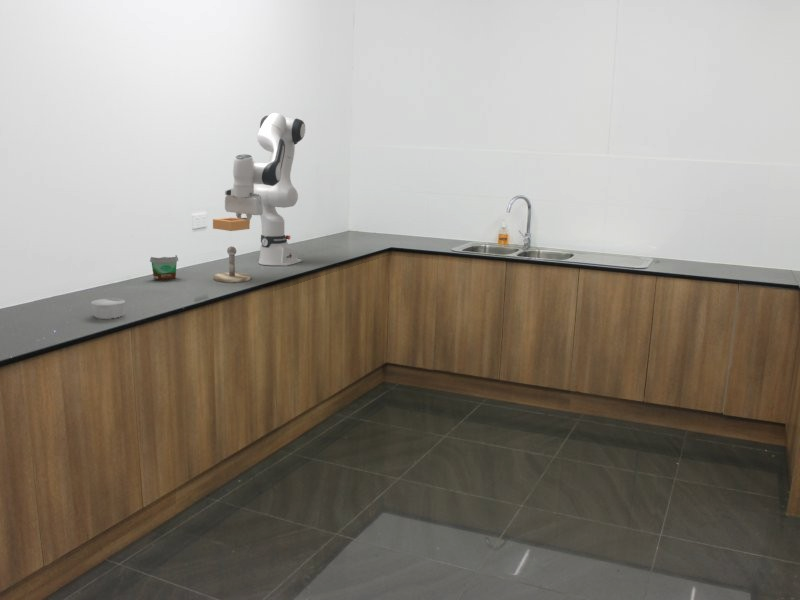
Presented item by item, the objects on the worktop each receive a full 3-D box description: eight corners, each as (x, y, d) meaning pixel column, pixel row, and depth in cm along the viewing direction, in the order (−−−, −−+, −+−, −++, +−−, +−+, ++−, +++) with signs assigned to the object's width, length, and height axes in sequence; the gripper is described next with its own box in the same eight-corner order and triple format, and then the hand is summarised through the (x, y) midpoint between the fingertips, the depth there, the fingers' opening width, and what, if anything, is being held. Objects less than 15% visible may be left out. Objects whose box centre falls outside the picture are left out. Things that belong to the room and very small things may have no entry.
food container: (156, 282, 332) (155, 259, 330) (150, 279, 336) (149, 256, 334) (183, 279, 340) (183, 256, 337) (177, 277, 344) (177, 254, 342)
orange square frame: (231, 231, 332) (230, 221, 331) (213, 228, 338) (212, 219, 337) (256, 228, 344) (256, 219, 343) (238, 225, 350) (238, 216, 349)
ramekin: (130, 313, 278) (129, 298, 276) (120, 320, 267) (119, 305, 266) (98, 312, 277) (97, 297, 276) (86, 319, 266) (85, 304, 265)
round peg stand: (232, 274, 355) (232, 242, 352) (258, 278, 346) (258, 246, 343) (205, 279, 342) (205, 246, 339) (231, 284, 333) (231, 250, 330)
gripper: (266, 193, 339) (266, 225, 342) (232, 190, 350) (233, 221, 353) (255, 194, 334) (255, 226, 337) (222, 191, 345) (222, 222, 348)
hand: (243, 223), depth 345 cm, fingers closed on orange square frame, 3 cm apart
